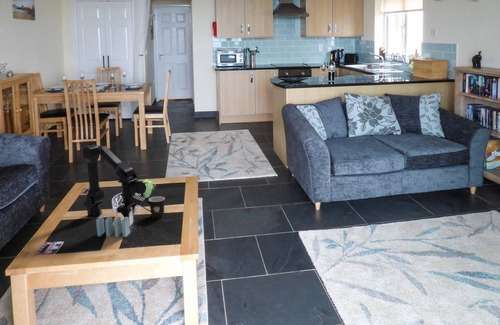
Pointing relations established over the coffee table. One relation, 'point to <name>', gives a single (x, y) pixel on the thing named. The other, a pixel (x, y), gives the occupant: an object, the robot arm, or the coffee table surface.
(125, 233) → the domino
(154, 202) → the coffee mug
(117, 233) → the domino
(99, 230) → the domino
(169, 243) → the coffee table surface
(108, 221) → the domino
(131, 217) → the domino
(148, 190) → the green rounded lump
